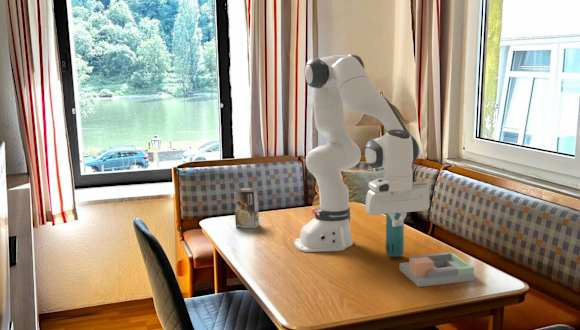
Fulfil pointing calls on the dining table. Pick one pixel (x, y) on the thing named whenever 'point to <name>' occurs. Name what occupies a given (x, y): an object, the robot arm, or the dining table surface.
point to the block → (421, 266)
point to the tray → (441, 270)
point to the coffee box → (246, 207)
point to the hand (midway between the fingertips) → (397, 226)
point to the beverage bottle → (394, 237)
